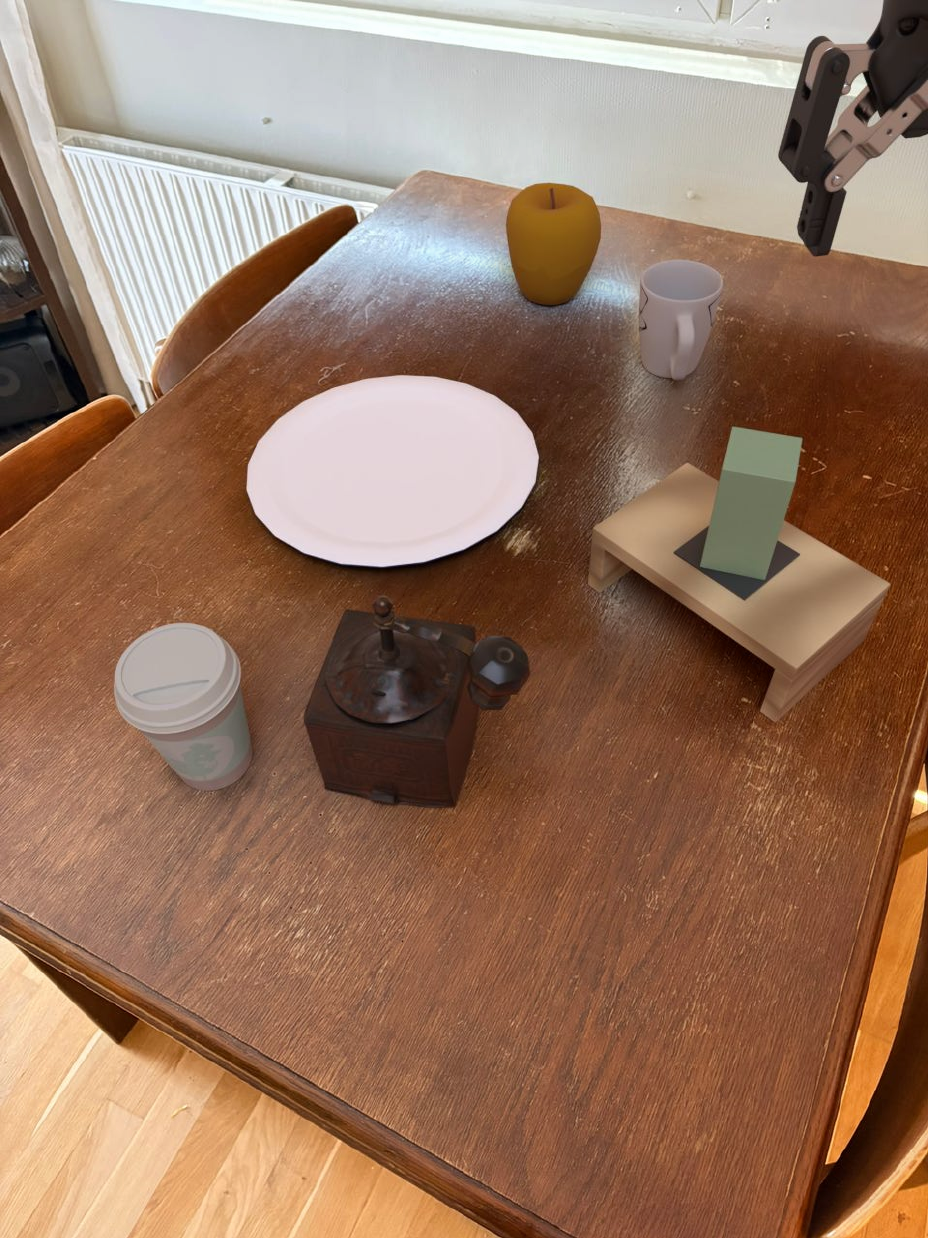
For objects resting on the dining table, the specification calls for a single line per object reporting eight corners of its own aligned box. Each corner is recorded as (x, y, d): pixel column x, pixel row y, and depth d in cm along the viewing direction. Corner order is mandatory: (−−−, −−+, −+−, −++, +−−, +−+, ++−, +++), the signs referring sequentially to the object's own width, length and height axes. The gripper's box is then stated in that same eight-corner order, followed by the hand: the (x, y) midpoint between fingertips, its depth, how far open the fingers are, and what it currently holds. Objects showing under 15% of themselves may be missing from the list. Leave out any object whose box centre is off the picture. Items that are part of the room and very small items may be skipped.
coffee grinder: (317, 797, 67) (266, 648, 53) (357, 679, 74) (322, 520, 60) (523, 831, 64) (525, 684, 51) (545, 706, 71) (552, 546, 57)
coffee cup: (138, 788, 68) (79, 697, 59) (197, 701, 73) (151, 604, 64) (236, 822, 66) (191, 732, 57) (290, 729, 71) (256, 633, 62)
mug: (717, 400, 96) (735, 316, 88) (638, 402, 96) (648, 318, 88) (701, 340, 103) (716, 257, 95) (627, 342, 103) (636, 260, 96)
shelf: (864, 640, 74) (892, 581, 69) (775, 723, 69) (797, 667, 64) (676, 519, 84) (687, 460, 79) (587, 584, 79) (592, 525, 74)
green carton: (772, 536, 72) (802, 437, 65) (764, 580, 69) (795, 481, 62) (709, 524, 73) (732, 425, 66) (699, 567, 70) (722, 468, 63)
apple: (607, 280, 113) (616, 175, 103) (576, 324, 106) (582, 217, 97) (526, 265, 116) (527, 162, 106) (492, 307, 110) (489, 201, 100)
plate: (578, 539, 83) (579, 526, 82) (265, 607, 79) (261, 594, 78) (494, 366, 102) (493, 352, 100) (237, 414, 98) (233, 401, 97)
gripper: (884, -88, 36) (789, 289, 48) (1224, -117, 36) (1044, 262, 49) (813, -128, 41) (743, 224, 53) (1114, -154, 41) (976, 200, 54)
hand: (888, 242), depth 51 cm, fingers open, 8 cm apart
